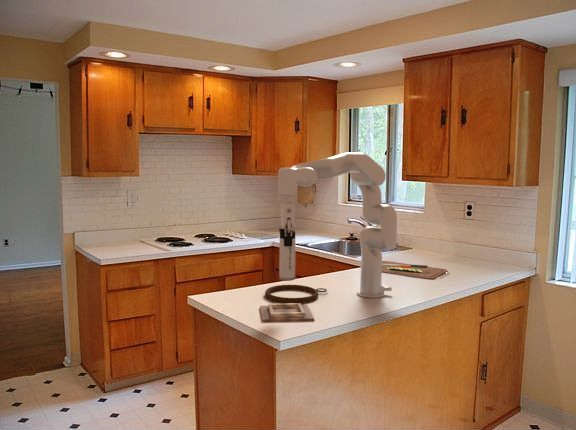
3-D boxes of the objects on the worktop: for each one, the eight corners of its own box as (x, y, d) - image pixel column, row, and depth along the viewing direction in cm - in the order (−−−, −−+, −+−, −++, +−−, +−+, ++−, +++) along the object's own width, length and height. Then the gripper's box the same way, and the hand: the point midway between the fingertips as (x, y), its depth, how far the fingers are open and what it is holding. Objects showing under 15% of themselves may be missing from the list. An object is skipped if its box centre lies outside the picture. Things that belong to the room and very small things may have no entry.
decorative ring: (339, 294, 230) (277, 300, 219) (339, 300, 231) (277, 307, 219) (315, 281, 253) (257, 286, 241) (315, 287, 253) (257, 293, 241)
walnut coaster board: (307, 307, 218) (307, 301, 218) (314, 320, 201) (314, 314, 200) (259, 308, 216) (260, 302, 216) (262, 322, 198) (262, 315, 198)
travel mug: (281, 276, 211) (281, 227, 208) (296, 277, 209) (297, 228, 206) (276, 280, 205) (276, 230, 202) (292, 281, 203) (293, 230, 201)
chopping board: (358, 269, 294) (358, 264, 293) (379, 262, 316) (379, 257, 315) (436, 281, 268) (437, 276, 268) (453, 272, 290) (453, 267, 290)
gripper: (300, 201, 195) (299, 248, 197) (294, 197, 212) (293, 240, 214) (280, 201, 194) (279, 248, 196) (276, 197, 211) (275, 240, 213)
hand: (287, 244), depth 205 cm, fingers closed on travel mug, 6 cm apart
